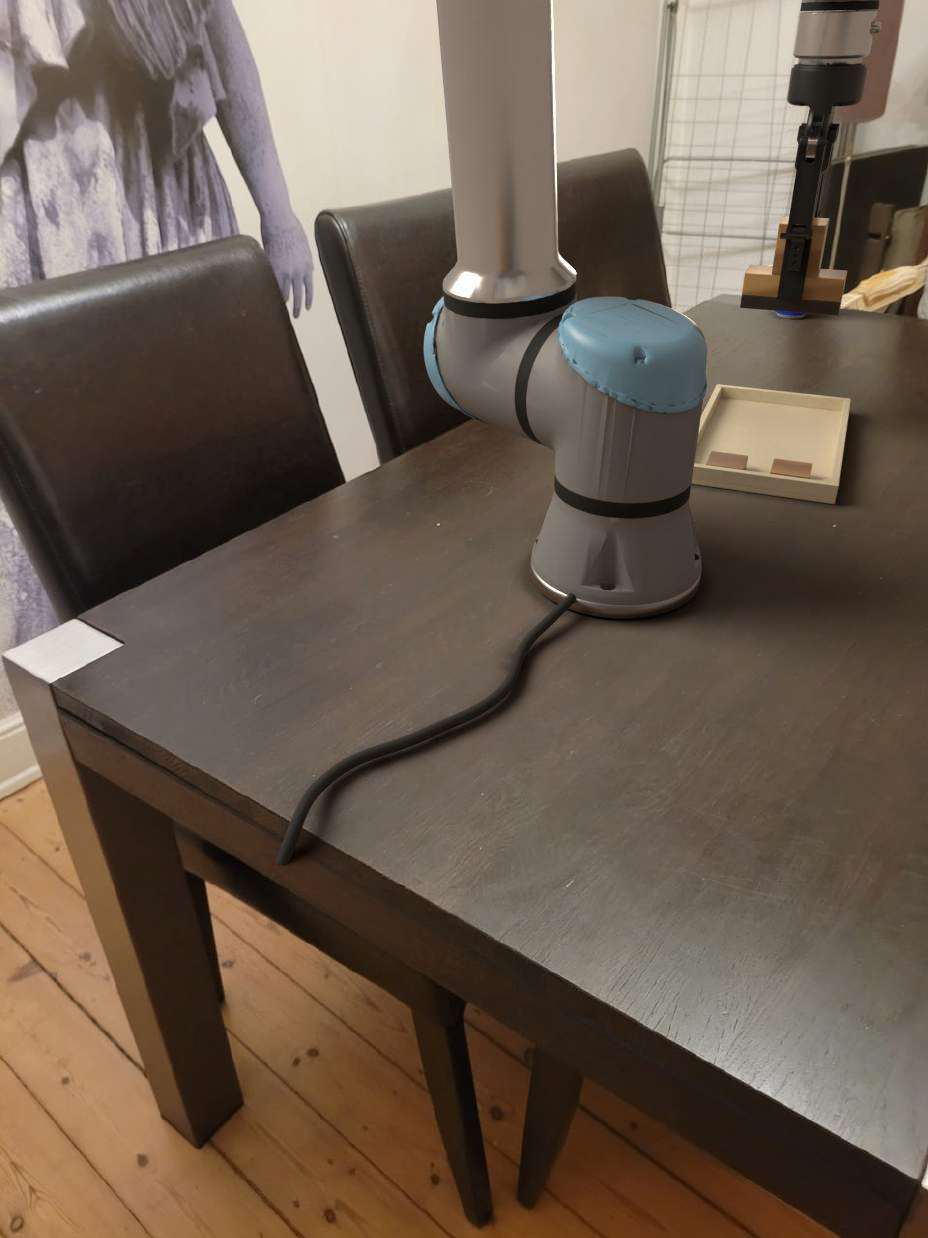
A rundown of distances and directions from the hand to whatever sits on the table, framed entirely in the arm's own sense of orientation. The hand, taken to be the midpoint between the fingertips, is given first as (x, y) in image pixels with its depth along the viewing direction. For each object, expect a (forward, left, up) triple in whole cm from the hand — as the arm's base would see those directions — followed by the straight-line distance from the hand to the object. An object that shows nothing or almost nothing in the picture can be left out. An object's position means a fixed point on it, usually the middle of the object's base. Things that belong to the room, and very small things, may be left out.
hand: (791, 292), depth 108 cm
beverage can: (+38, +32, -15) cm, 52 cm away
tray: (-7, -6, -15) cm, 18 cm away
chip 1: (-18, -10, -15) cm, 25 cm away
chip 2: (-14, -16, -15) cm, 25 cm away
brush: (0, 0, -2) cm, 2 cm away
